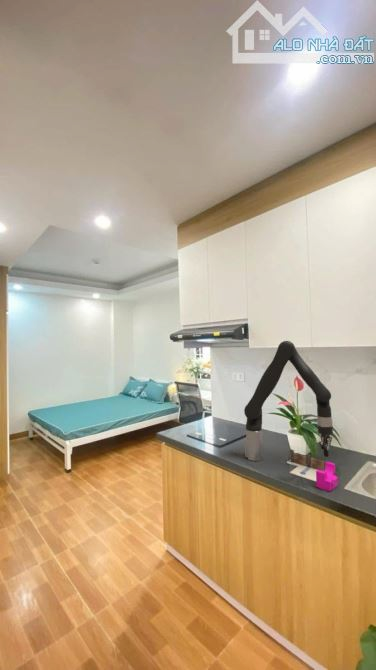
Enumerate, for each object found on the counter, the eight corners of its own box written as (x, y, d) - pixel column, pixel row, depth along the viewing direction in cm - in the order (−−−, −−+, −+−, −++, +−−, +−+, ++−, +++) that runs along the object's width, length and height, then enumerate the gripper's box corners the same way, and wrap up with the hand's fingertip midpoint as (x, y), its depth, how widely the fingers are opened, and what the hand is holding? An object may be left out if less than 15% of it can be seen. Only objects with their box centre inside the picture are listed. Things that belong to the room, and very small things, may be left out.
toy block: (330, 492, 127) (329, 475, 127) (316, 487, 131) (316, 471, 132) (340, 480, 137) (340, 465, 138) (327, 476, 142) (327, 461, 142)
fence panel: (310, 467, 150) (310, 456, 150) (312, 466, 152) (311, 455, 152) (327, 472, 144) (327, 461, 144) (329, 471, 145) (328, 460, 145)
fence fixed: (290, 461, 159) (289, 450, 159) (291, 460, 160) (291, 449, 160) (309, 467, 151) (309, 455, 151) (311, 466, 152) (310, 454, 152)
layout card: (277, 469, 151) (277, 468, 151) (290, 459, 162) (290, 459, 162) (320, 483, 135) (320, 482, 135) (331, 471, 146) (331, 470, 146)
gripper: (322, 420, 159) (323, 451, 158) (313, 425, 150) (314, 458, 149) (336, 423, 154) (338, 454, 153) (327, 428, 144) (329, 462, 144)
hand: (326, 456), depth 151 cm, fingers closed
